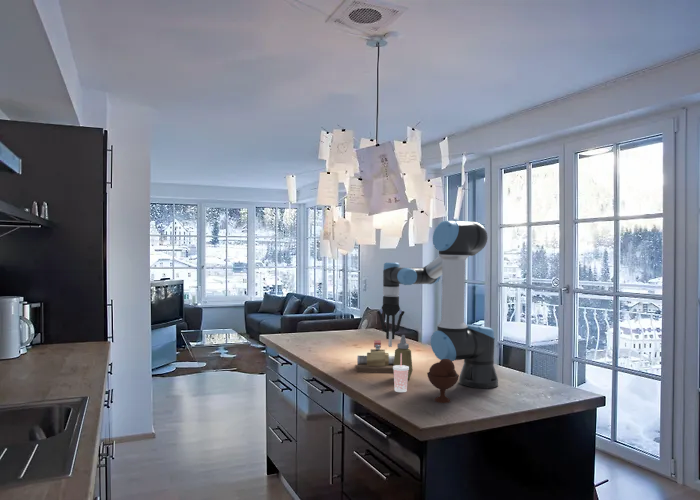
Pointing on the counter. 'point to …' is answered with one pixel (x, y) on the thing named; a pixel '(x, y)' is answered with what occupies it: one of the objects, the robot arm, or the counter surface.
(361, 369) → the valve board
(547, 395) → the counter surface
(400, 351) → the squeeze bottle
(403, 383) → the beverage cup
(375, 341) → the lever
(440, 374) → the ice cream bowl
